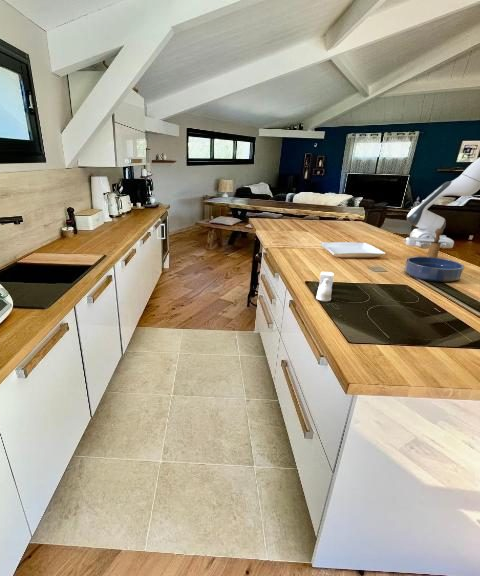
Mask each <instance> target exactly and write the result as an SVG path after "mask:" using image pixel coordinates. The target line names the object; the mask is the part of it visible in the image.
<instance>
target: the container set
mask: <svg viewBox="0 0 480 576" xmlns="http://www.w3.org/2000/svg"><path fill="white" fill-rule="evenodd" d="M334 276H335V273H334V272H331V271H320V276H319V283H318V289H317V291H316V296H315V299H316V300H317V301H321V302H331V300H332V294H333V293H332V292H333V284H334V278H335V277H334Z"/></svg>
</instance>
